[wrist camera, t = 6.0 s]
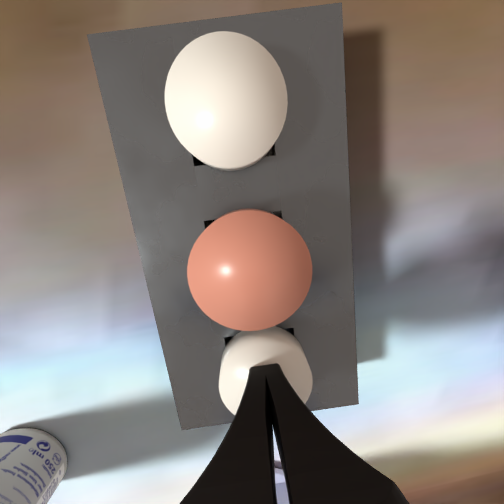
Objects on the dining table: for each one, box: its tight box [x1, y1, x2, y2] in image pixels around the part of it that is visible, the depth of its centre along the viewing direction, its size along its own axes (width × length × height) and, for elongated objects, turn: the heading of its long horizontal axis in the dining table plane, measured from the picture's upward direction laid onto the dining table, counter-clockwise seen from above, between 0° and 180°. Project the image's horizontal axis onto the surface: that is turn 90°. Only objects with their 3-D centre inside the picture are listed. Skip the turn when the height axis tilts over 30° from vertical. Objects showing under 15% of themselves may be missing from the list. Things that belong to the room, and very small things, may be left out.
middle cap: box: [187, 208, 312, 331], centre depth 11 cm, size 4×4×4 cm
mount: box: [87, 3, 359, 430], centre depth 13 cm, size 19×10×3 cm, turn 8°
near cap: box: [165, 31, 288, 171], centre depth 11 cm, size 4×4×4 cm
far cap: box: [219, 326, 313, 415], centre depth 14 cm, size 4×4×4 cm
